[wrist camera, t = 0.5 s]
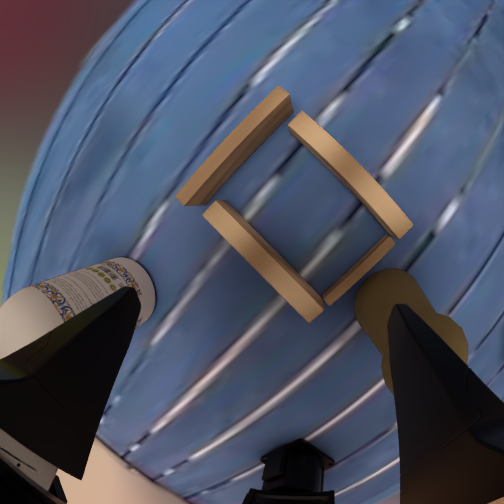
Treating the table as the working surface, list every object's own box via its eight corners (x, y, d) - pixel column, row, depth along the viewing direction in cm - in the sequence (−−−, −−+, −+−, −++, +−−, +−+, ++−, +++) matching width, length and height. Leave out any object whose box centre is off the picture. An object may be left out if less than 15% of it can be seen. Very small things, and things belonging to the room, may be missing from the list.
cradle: (406, 226, 20) (424, 231, 16) (313, 314, 23) (313, 336, 19) (284, 104, 20) (278, 85, 16) (196, 196, 23) (174, 196, 19)
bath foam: (103, 250, 26) (-75, 306, 7) (159, 263, 25) (-47, 356, 5) (104, 312, 27) (-42, 397, 8) (157, 330, 26) (4, 456, 7)
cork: (382, 348, 22) (415, 434, 11) (339, 305, 22) (356, 384, 11) (432, 301, 20) (496, 363, 10) (391, 252, 20) (453, 295, 10)
